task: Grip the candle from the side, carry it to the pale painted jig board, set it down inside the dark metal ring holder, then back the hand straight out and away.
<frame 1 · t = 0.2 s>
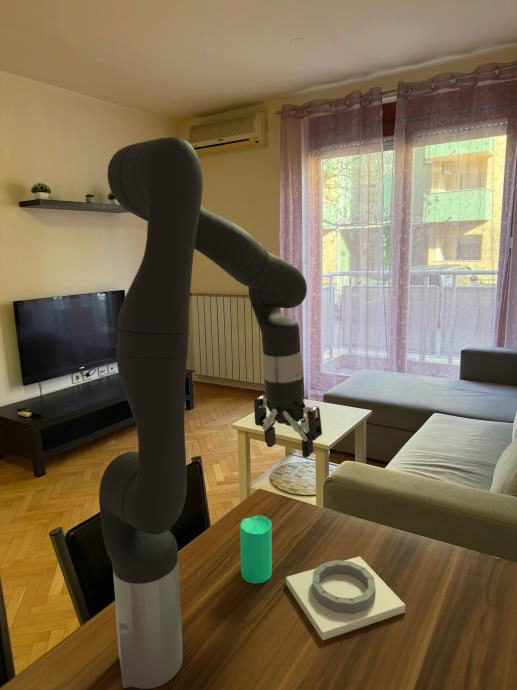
hand: (288, 450, 95), 22 cm above the table, tool pointing down, fingers open, 8 cm apart
jig plate: (342, 597, 86), on the table
candle: (256, 573, 93), on the table
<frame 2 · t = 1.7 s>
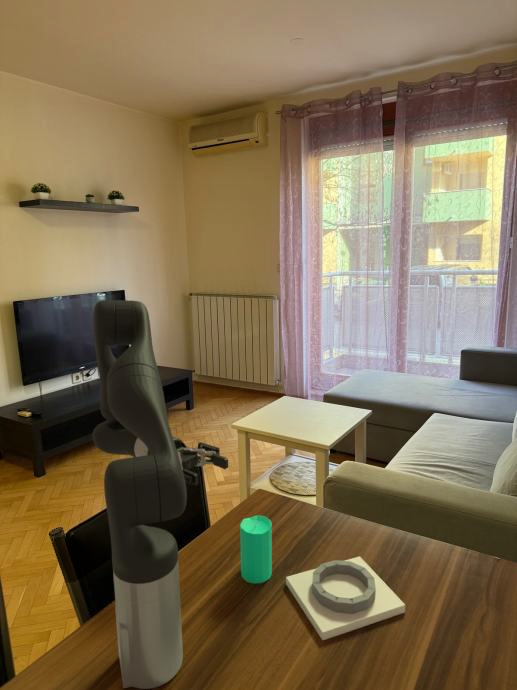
hand: (212, 471, 96), 18 cm above the table, tool horizontal, fingers open, 8 cm apart
nothing on the table moved.
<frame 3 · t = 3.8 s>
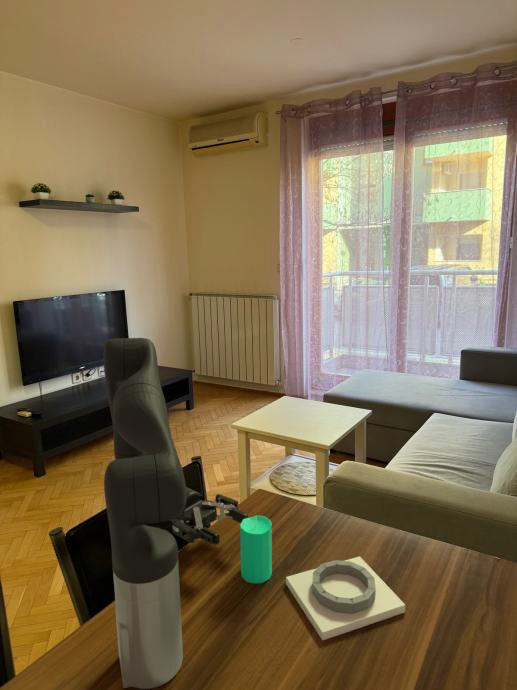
hand: (233, 529, 95), 7 cm above the table, tool horizontal, fingers open, 8 cm apart
nothing on the table moved.
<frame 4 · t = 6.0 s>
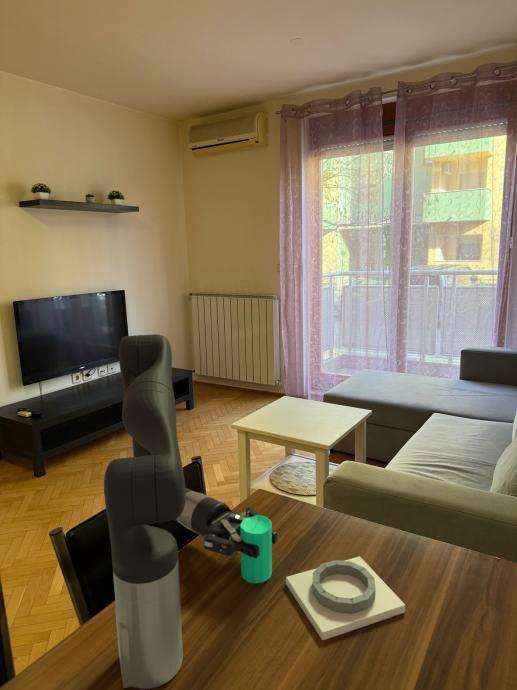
hand: (267, 545, 89), 7 cm above the table, tool horizontal, fingers closed on candle, 5 cm apart
candle: (256, 573, 93), on the table, touching gripper
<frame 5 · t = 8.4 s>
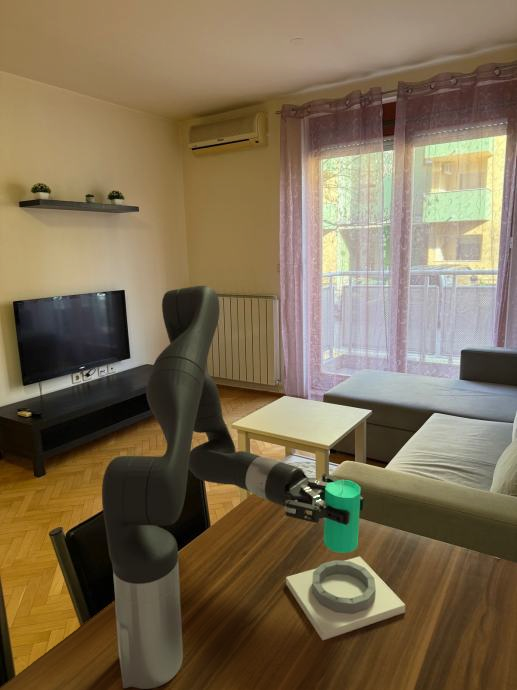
hand: (356, 511, 81), 18 cm above the table, tool horizontal, fingers closed on candle, 5 cm apart
candle: (340, 543, 84), point 11 cm above the table, touching gripper
when the fingers open (9 cm above the table, at t = 10.8 s): candle stays where it is, resting on jig plate.
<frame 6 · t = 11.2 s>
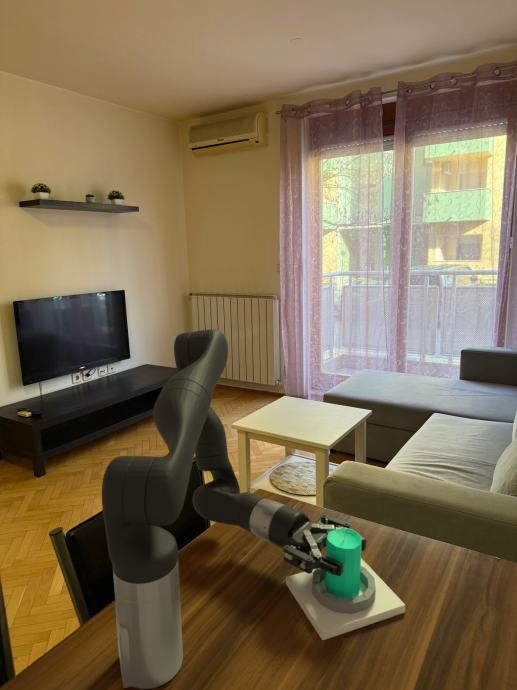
hand: (354, 557, 83), 9 cm above the table, tool horizontal, fingers open, 8 cm apart
candle: (342, 590, 86), point 1 cm above the table, touching jig plate
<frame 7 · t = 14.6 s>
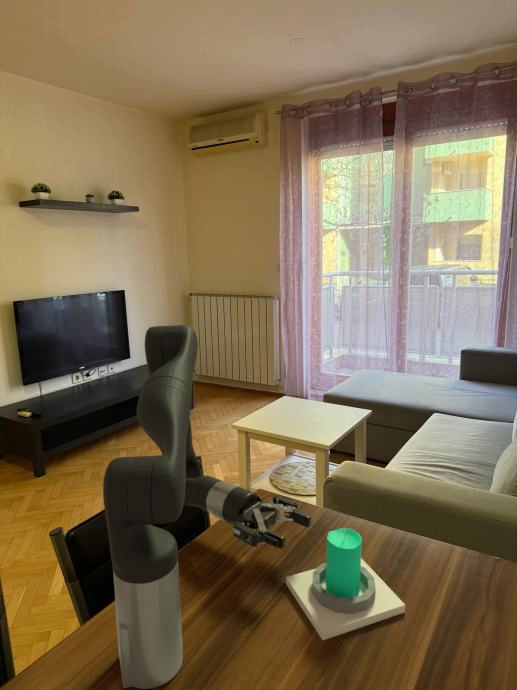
hand: (297, 532, 90), 9 cm above the table, tool horizontal, fingers open, 8 cm apart
nothing on the table moved.
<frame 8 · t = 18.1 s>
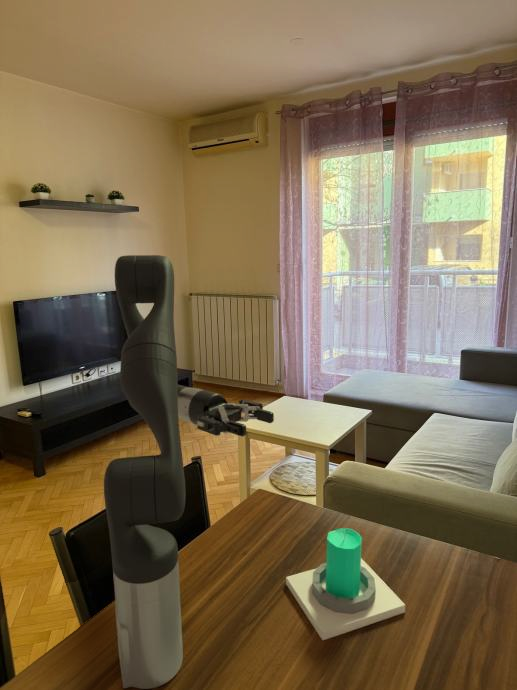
hand: (259, 424, 93), 28 cm above the table, tool horizontal, fingers open, 8 cm apart
nothing on the table moved.
at the end: candle 0.1 cm off-centre on the jig plate, point 1.3 cm above the jig plate's base; candle tilted 0°; the gripper is holding nothing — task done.
